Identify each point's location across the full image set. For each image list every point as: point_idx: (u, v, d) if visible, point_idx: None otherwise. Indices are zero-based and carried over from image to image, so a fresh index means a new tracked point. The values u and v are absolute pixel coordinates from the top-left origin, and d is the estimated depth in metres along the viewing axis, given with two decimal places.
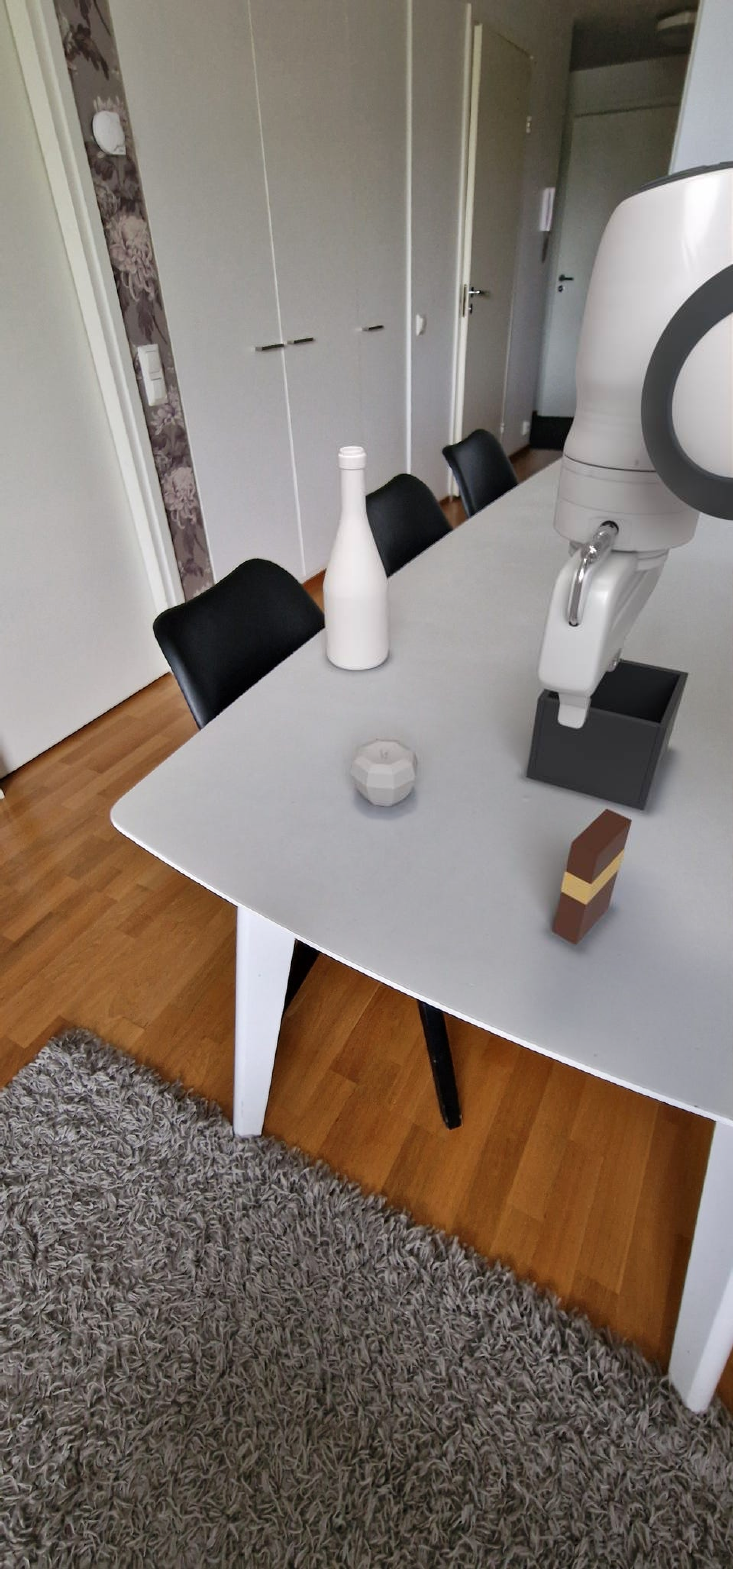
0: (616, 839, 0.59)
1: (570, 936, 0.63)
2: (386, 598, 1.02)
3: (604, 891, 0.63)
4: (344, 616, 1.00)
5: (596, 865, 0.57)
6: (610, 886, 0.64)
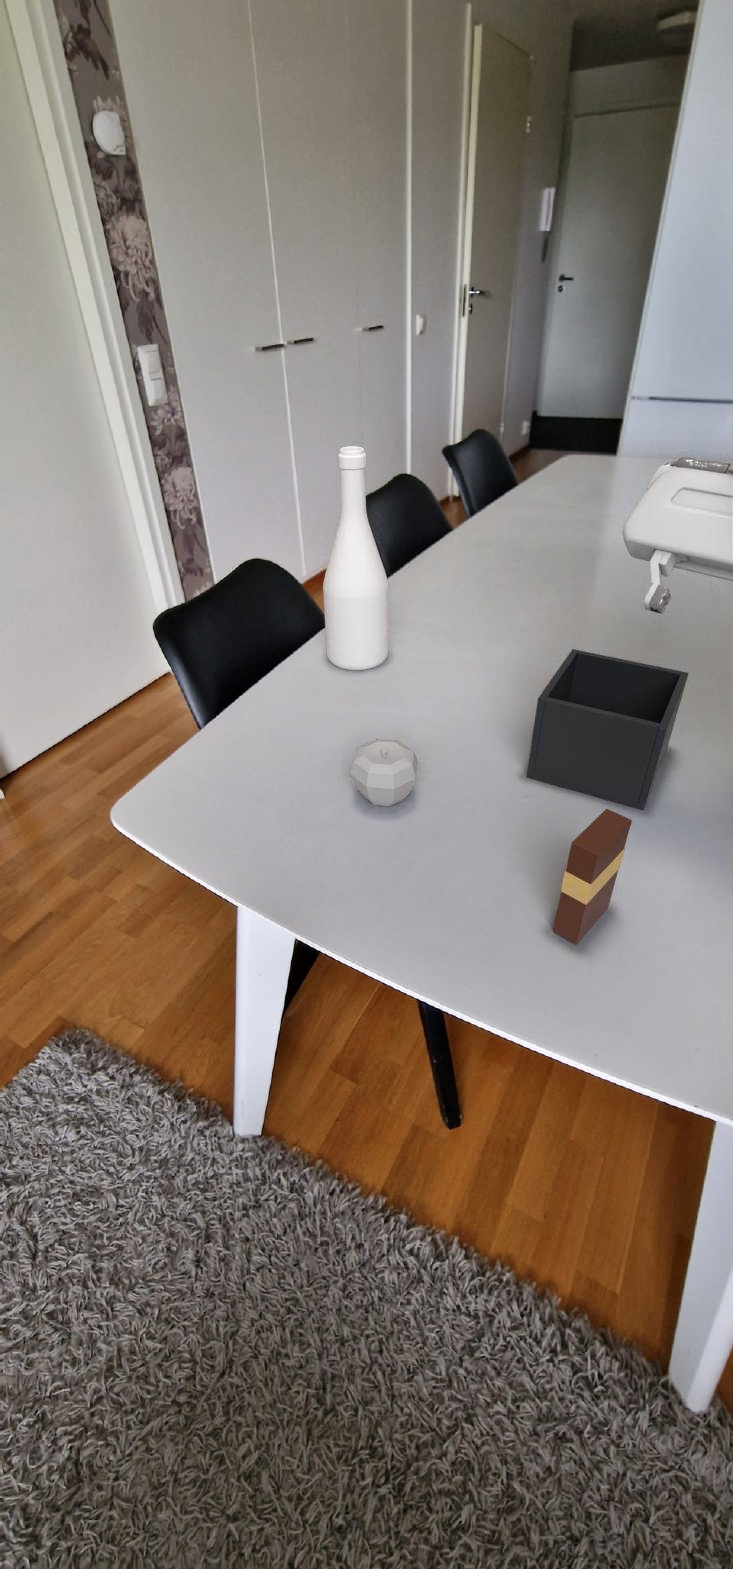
0: (616, 839, 0.59)
1: (570, 936, 0.63)
2: (386, 598, 1.02)
3: (604, 891, 0.63)
4: (344, 616, 1.00)
5: (596, 865, 0.57)
6: (610, 886, 0.64)
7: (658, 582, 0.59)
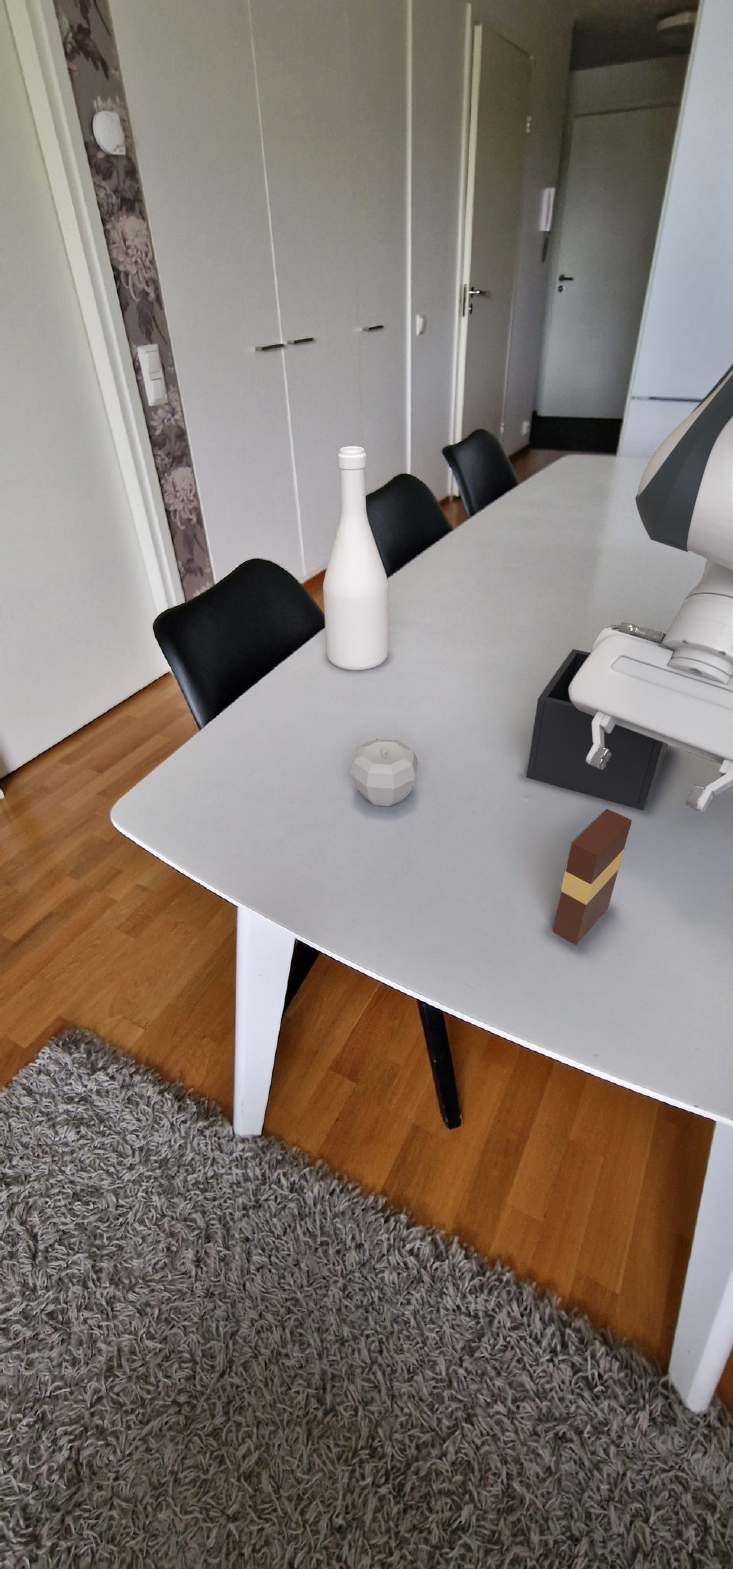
0: (616, 839, 0.59)
1: (570, 936, 0.63)
2: (386, 598, 1.02)
3: (604, 891, 0.63)
4: (344, 616, 1.00)
5: (596, 865, 0.57)
6: (610, 886, 0.64)
7: (599, 742, 0.65)
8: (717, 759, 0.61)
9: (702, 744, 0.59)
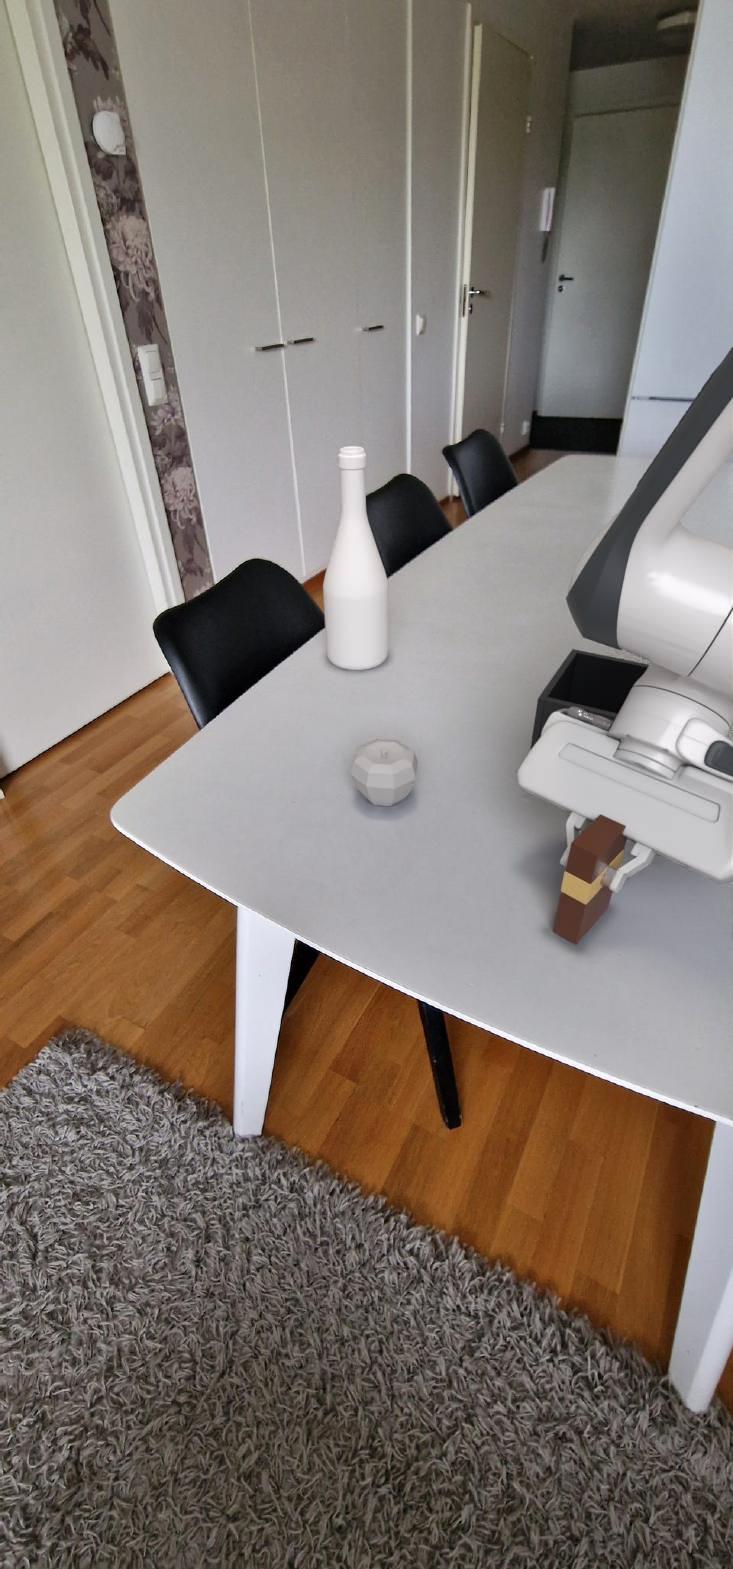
0: (616, 839, 0.59)
1: (570, 936, 0.63)
2: (386, 598, 1.02)
3: (604, 891, 0.63)
4: (344, 616, 1.00)
5: (595, 865, 0.57)
6: None
7: None
8: (663, 853, 0.60)
9: (646, 841, 0.58)
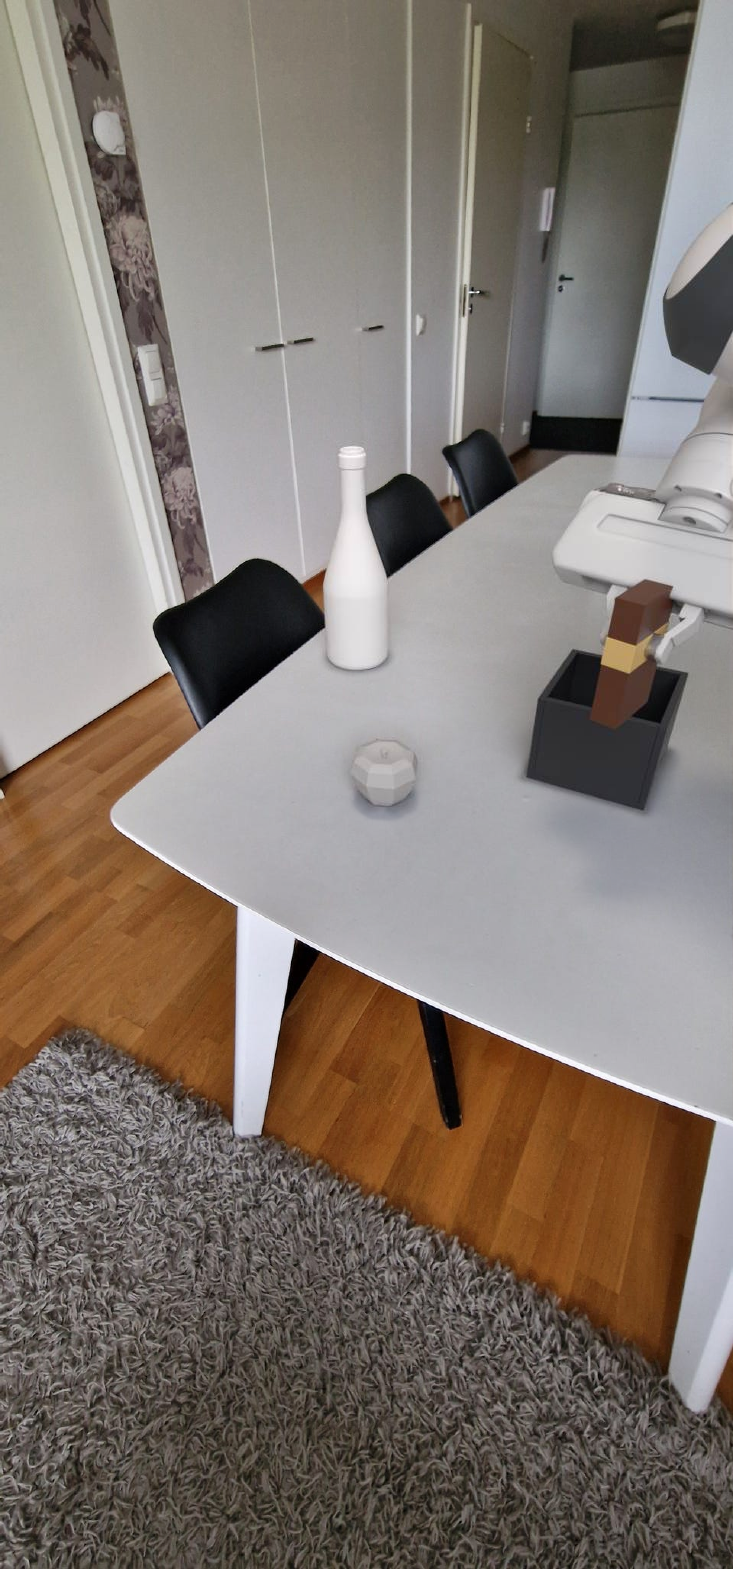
0: (663, 598, 0.54)
1: (609, 720, 0.59)
2: (386, 598, 1.02)
3: (646, 671, 0.59)
4: (344, 616, 1.00)
5: (642, 619, 0.53)
6: (652, 669, 0.60)
7: None
8: (713, 619, 0.56)
9: (696, 598, 0.54)
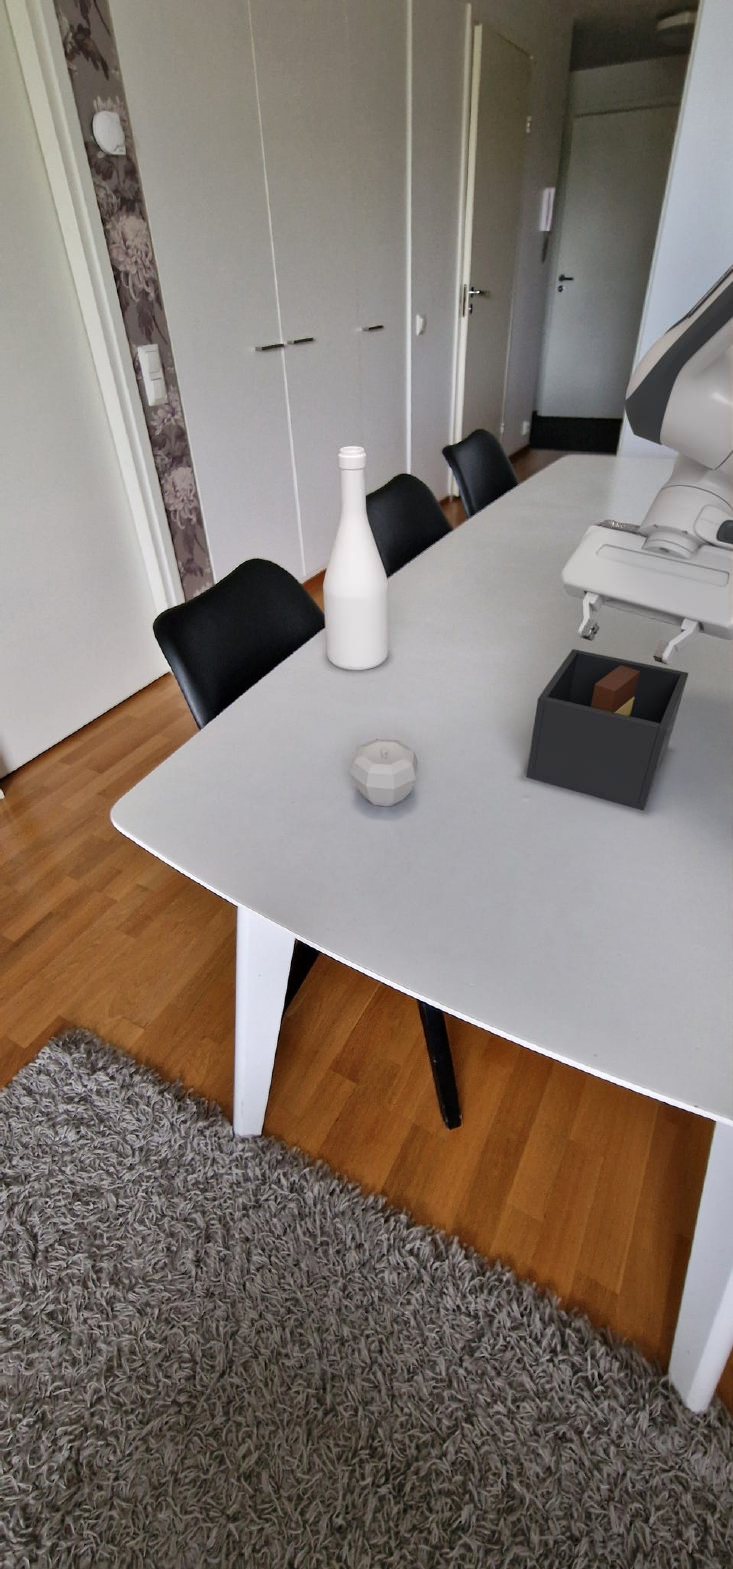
0: (628, 683, 0.78)
1: None
2: (386, 598, 1.02)
3: None
4: (344, 616, 1.00)
5: (613, 700, 0.77)
6: None
7: (588, 617, 0.78)
8: None
9: (669, 608, 0.73)
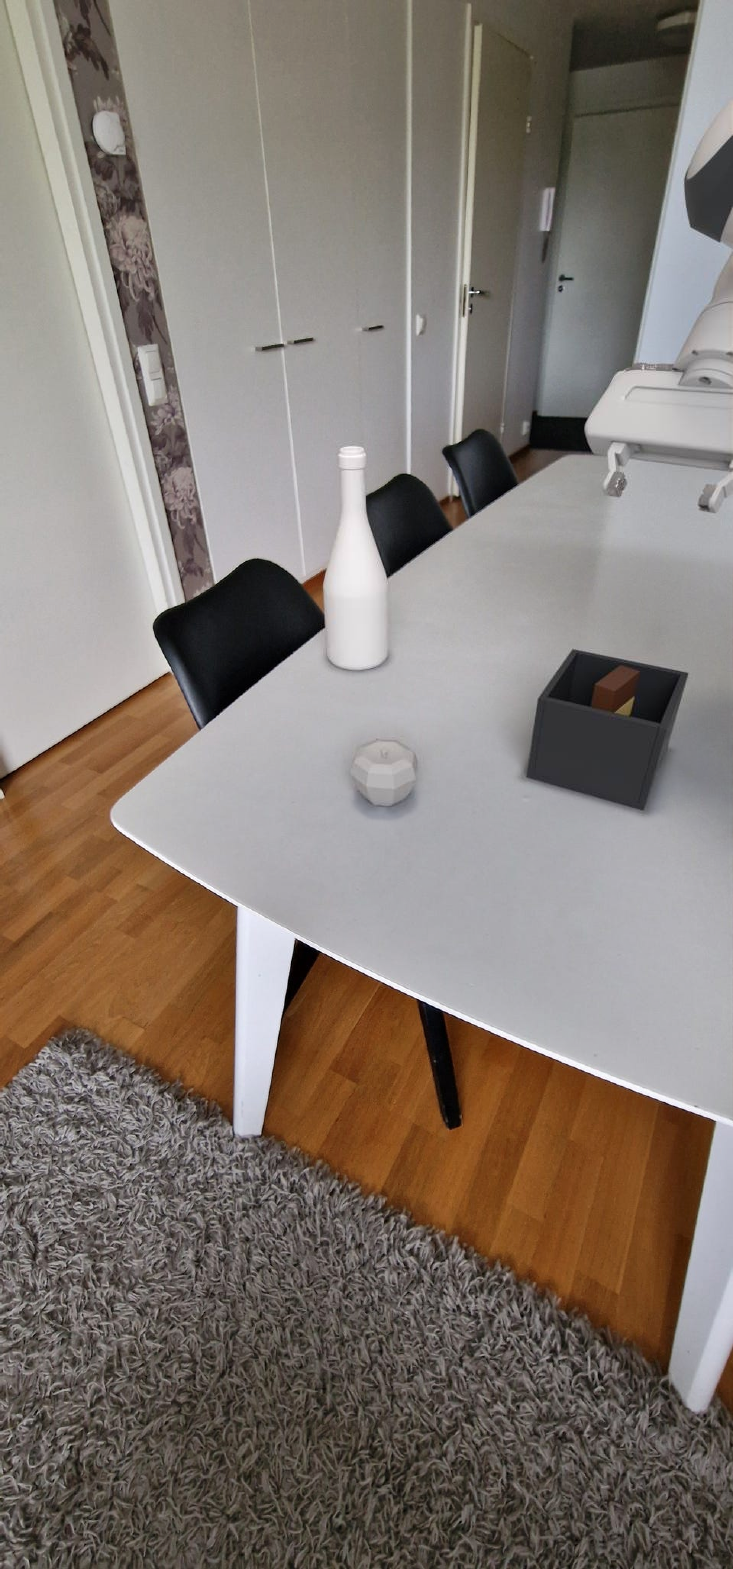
0: (628, 683, 0.78)
1: None
2: (386, 598, 1.02)
3: None
4: (344, 616, 1.00)
5: (613, 700, 0.77)
6: None
7: (614, 469, 0.68)
8: (728, 466, 0.65)
9: (713, 445, 0.63)
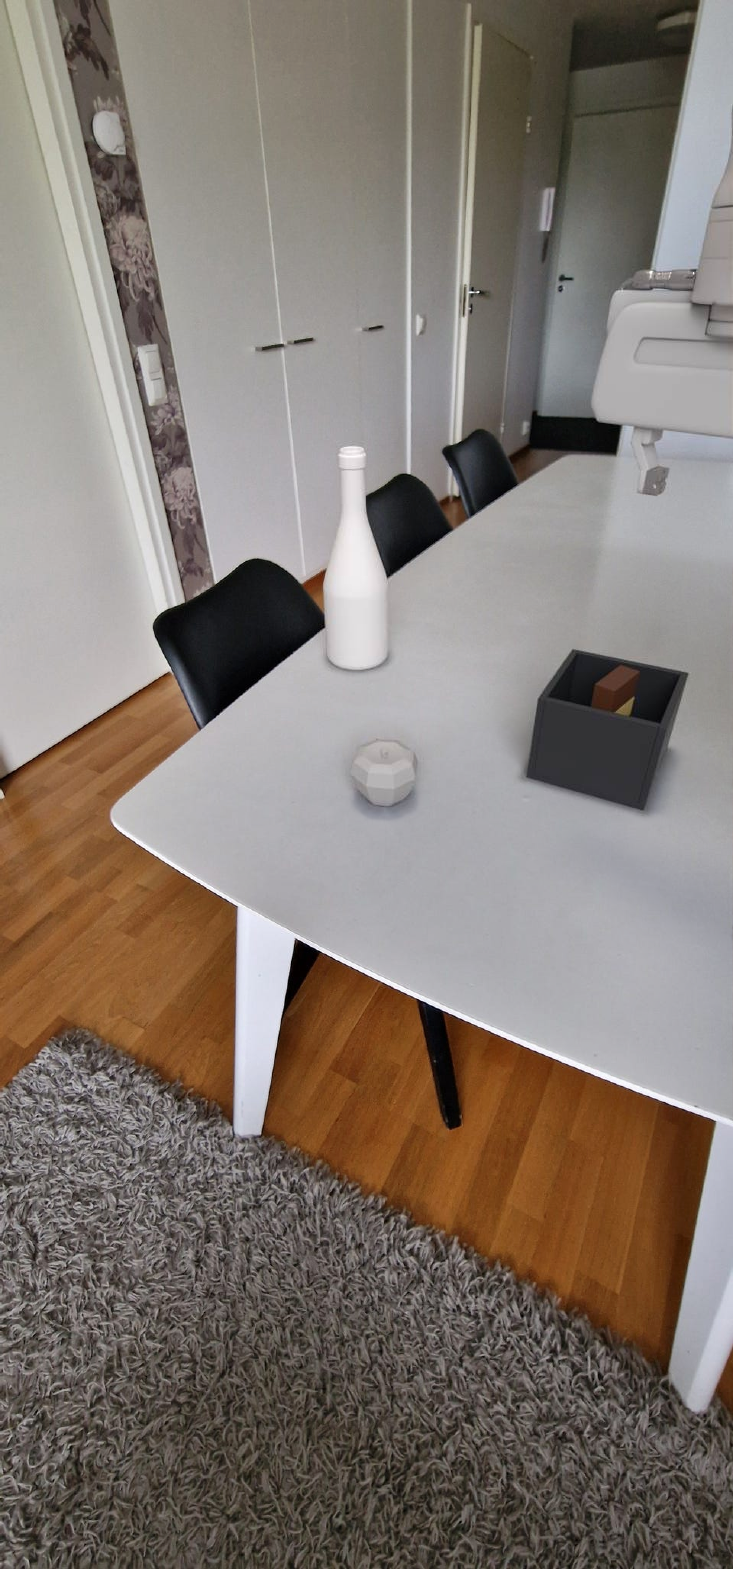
0: (628, 683, 0.78)
1: None
2: (386, 598, 1.02)
3: None
4: (344, 616, 1.00)
5: (613, 700, 0.77)
6: None
7: (646, 467, 0.52)
8: None
9: None
